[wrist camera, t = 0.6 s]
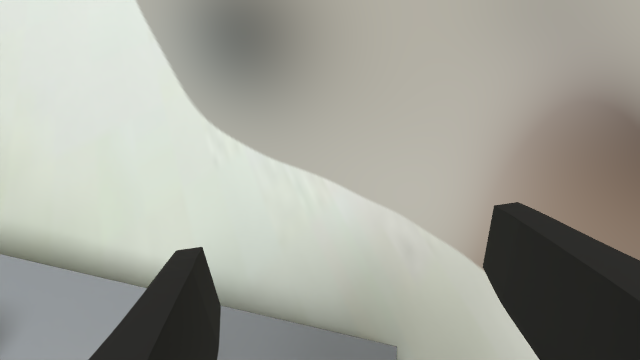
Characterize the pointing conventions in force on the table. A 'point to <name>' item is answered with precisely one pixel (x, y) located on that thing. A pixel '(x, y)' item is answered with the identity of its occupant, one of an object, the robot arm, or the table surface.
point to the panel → (116, 301)
